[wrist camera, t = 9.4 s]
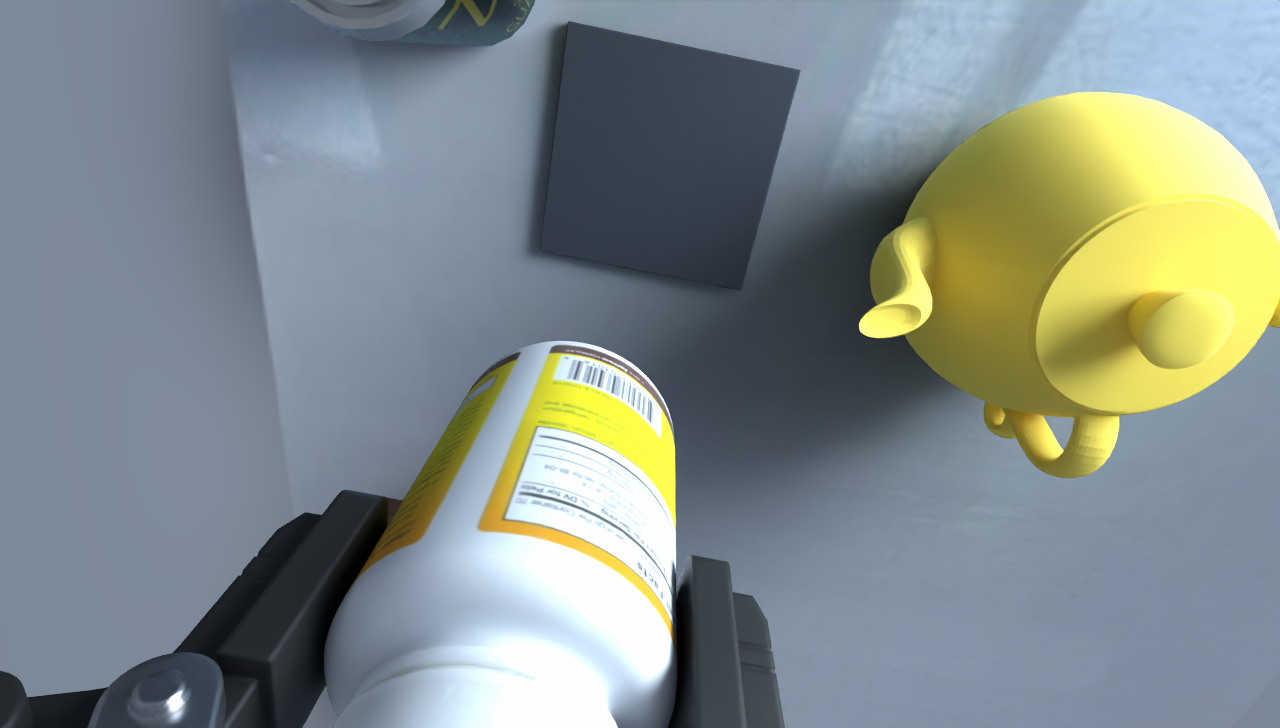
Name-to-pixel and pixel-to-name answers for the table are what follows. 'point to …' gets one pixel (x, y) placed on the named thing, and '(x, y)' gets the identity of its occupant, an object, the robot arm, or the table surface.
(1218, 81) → the table surface
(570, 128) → the coaster
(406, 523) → the supplement bottle
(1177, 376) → the teapot
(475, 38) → the beer can
